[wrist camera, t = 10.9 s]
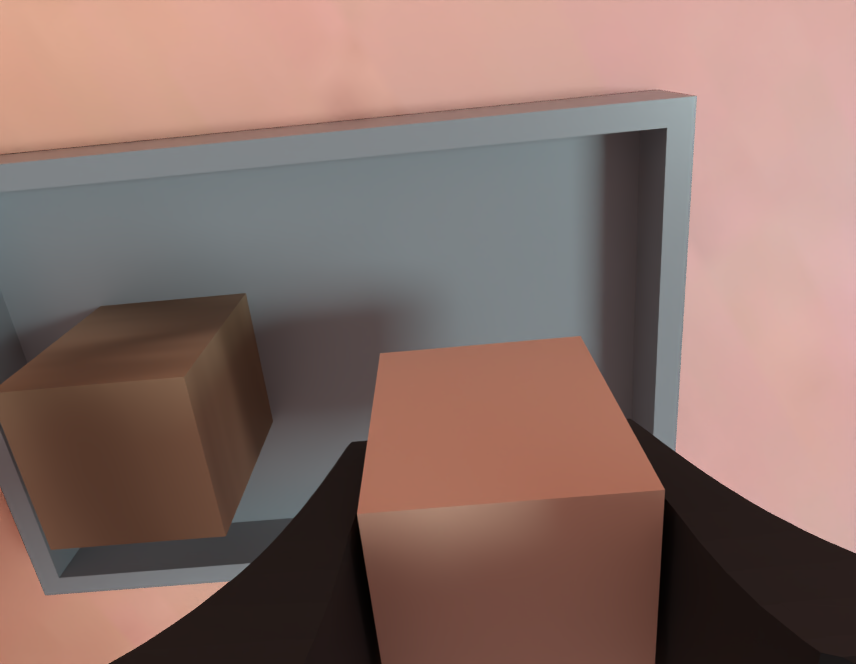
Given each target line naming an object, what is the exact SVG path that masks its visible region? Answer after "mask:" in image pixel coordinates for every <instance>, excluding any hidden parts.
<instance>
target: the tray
mask: <svg viewBox="0 0 856 664" xmlns="http://www.w3.org/2000/svg"><path fill="white" fill-rule="evenodd" d="M696 101H697V96H694V95H688V94H682V93H676V92H670V91H663V90H651V91H641V92H631V93H621V94H611V95H601V96H590V97H580V98H570V99H560V100H550V101H540V102H530V103H519V104H509V105H499V106H489V107H479V108H469V109H459V110H448V111H438V112H428V113H418V114H408V115H398V116H388V117H377V118H367V119H357V120H347V121H337V122H327V123H316V124H306V125H296V126H286V127H276V128H266V129H256V130H245V131H235V132H225V133H215V134H205V135H195V136H185V137H174V138H164V139H154V140H144V141H134V142H124V143H114V144H103V145H93V146H83V147H73V148H63V149H53V150H42V151H32V152H22V153H12V154H2V155H0V384H2V383H3V382H4V381H5V380H7V379H8V378H9V377H11V376H12V375H13V374H14V373H16V372H17V371H18V370H20V369H21V368H22V367H23V366H25V365H26V364H27V363H28V362H30V361H31V360H32V359H34V358H35V357H36V356H37V355H39V354H40V353H41V352H42V351H44V350H45V349H46V348H48V347H49V346H50V345H51V344H53V343H54V342H55V341H57V340H58V339H59V338H60V337H62V336H63V335H64V334H65V333H67V332H68V331H69V330H71V329H72V328H73V327H74V326H76V325H77V324H78V323H80V322H81V321H82V320H83V319H85V318H86V317H87V316H88V315H90V314H91V313H92V312H94V311H95V310H96V309H97V308H99V307H100V306H107V305H118V304H129V303H140V302H152V301H163V300H174V299H185V298H196V297H208V296H219V295H230V294H241V293H246V296H247V300H248V305H249V310H250V315H251V319H252V324H253V329H254V334H255V338H256V343H257V348H258V353H259V357H260V362H261V367H262V372H263V376H264V381H265V386H266V390H267V395H268V400H269V405H270V409H271V414H272V419H273V423H272V425H271V428H270V430H269V433H268V435H267V437H266V440H265V442H264V445H263V447H262V450H261V452H260V454H259V457H258V459H257V462H256V464H255V467H254V469H253V471H252V474H251V476H250V479H249V481H248V484H247V486H246V489H245V491H244V493H243V496H242V498H241V501H240V503H239V506H238V508H237V510H236V513H235V515H234V518H233V520H232V523H231V525H230V527H229V530H228V532H227V535H226V536H224V537H211V538H198V539H185V540H172V541H159V542H146V543H133V544H121V545H108V546H95V547H82V548H69V549H56V550H51V549H50V547H49V544H48V542H47V539H46V536H45V534H44V531H43V529H42V526H41V524H40V521H39V519H38V516H37V514H36V511H35V509H34V506H33V504H32V501H31V499H30V496H29V493H28V491H27V488H26V486H25V483H24V481H23V478H22V476H21V473H20V471H19V468H18V466H17V463H16V461H15V458H14V455H13V453H12V450H11V448H10V445H9V443H8V440H7V438H6V435H5V433H4V430H3V428H2V425H1V423H0V487H1V490H2V492H3V494H4V497H5V499H6V502H7V504H8V506H9V509H10V511H11V514H12V516H13V518H14V521H15V523H16V526H17V528H18V531H19V533H20V535H21V538H22V540H23V543H24V545H25V547H26V550H27V552H28V555H29V557H30V559H31V562H32V564H33V567H34V569H35V572H36V574H37V576H38V579H39V581H40V584H41V586H42V588H43V591H44V593H45V595H56V594H69V593H82V592H95V591H108V590H122V589H135V588H148V587H161V586H174V585H187V584H200V583H213V582H226V581H231V580H232V579H233V578H235V577H236V576H237V575H238V574H239V573H240V572H242V571H243V570H244V569H245V568H246V567H247V566H248V565H249V564H250V563H251V562H253V561H254V560H255V559H256V558H257V557H258V556H259V555H260V554H261V553H262V552H263V551H264V550H265V549H266V548H267V547H268V546H269V545H270V544H271V543H272V542H273V541H274V540H275V539H276V538H277V536H278V535H279V534H280V533H281V532H282V531H283V530H284V528H285V527H286V526H287V525H288V524H289V523H290V522H291V520H292V519H293V518H294V517H295V516H296V515H297V514H298V512H299V511H300V510H301V509H302V508H303V506H304V505H305V504H306V502H307V501H308V500H309V499H310V497H311V496H312V495H313V493H314V492H315V491H316V490H317V488H318V487H319V486H320V484H321V483H322V482H323V480H324V479H325V477H326V476H327V475H328V473H329V472H330V471H331V469H332V468H333V466H334V465H335V463H336V462H337V460H338V459H339V458H340V456H341V455H342V453H343V452H344V450H345V449H346V447H347V446H348V445H349V444H350V443H351V442H355V441H367V440H368V434H369V427H370V420H371V413H372V406H373V399H374V392H375V385H376V378H377V371H378V364H379V357H380V353H389V352H401V351H412V350H424V349H436V348H447V347H459V346H470V345H482V344H494V343H505V342H517V341H528V340H540V339H552V338H563V337H575V336H581V338H582V340H583V341H584V343H585V345H586V347H587V349H588V351H589V352H590V354H591V356H592V358H593V360H594V361H595V363H596V365H597V367H598V369H599V371H600V372H601V374H602V376H603V378H604V380H605V381H606V383H607V385H608V387H609V389H610V391H611V392H612V394H613V396H614V398H615V400H616V402H617V403H618V405H619V407H620V409H621V411H622V412H623V414H624V416H625V418H626V419H632V420H633V421H635V422H636V423H638V424H639V425H640V426H642V427H643V428H644V429H646V430H647V431H648V432H650V433H651V434H652V435H654V436H655V437H656V438H658V439H659V440H660V441H662V442H663V443H664V444H666V445H667V446H668V447H670V448H671V449H672V450H674V451H675V448H676V431H677V415H678V398H679V382H680V365H681V349H682V332H683V316H684V299H685V282H686V266H687V249H688V233H689V216H690V200H691V183H692V167H693V150H694V134H695V117H696Z"/></svg>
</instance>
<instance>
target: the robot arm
mask: <svg viewBox="0 0 856 664" xmlns="http://www.w3.org/2000/svg"><path fill="white" fill-rule="evenodd" d="M626 420H627V422H628V423H629V425H630V427H631V429H632V431H633V432H634V434H635V436H636V438H637V440H638V442H639V443H640V445H641V447H642V449H643V451H644V453H645V454H646V456H647V458H648V460H649V462H650V463H651V465H652V467H653V469H654V471H655V473H656V474H657V476H658V478H659V480H660V482H661V483H662V485H663V487H664V489H665V498H664V515H663V532H662V550H661V567H660V584H659V601H658V619H657V636H656V653H655V664H856V553H853V552H851V551H849V550H846V549H844V548H842V547H839V546H837V545H835V544H832V543H830V542H828V541H825V540H823V539H821V538H819V537H817V536H815V535H813V534H810V533H808V532H806V531H804V530H802V529H800V528H798V527H796V526H794V525H792V524H791V523H789V522H787V521H785V520H783V519H781V518H779V517H777V516H775V515H773V514H771V513H769V512H767V511H766V510H764V509H762V508H760V507H759V506H757V505H755V504H753V503H752V502H750V501H748V500H747V499H745V498H743V497H742V496H740V495H739V494H737V493H735V492H734V491H732V490H731V489H729V488H727V487H726V486H724V485H722V484H721V483H719V482H718V481H716V480H715V479H713V478H712V477H710V476H709V475H707V474H706V473H704V472H703V471H702V470H700V469H699V468H697V467H696V466H694V465H693V464H692V463H690V462H689V461H687V460H686V459H685V458H683V457H682V456H680V455H679V454H678V453H676V452H675V451H674V450H672V449H671V448H670V447H668V446H667V445H666V444H664V443H663V442H662V441H660V440H659V439H658V438H656V437H655V436H654V435H652V434H651V433H650V432H648V431H647V430H646V429H644V428H643V427H642V426H640V425H639V424H638V423H636V422H635V421H633V420H632V419H626ZM367 441H368V440H367ZM367 441H355V442H351V443H350V444H349V445H348V446H347V447H346V449H345V450H344V452H343V453H342V455H341V456H340V458H339V459H338V460H337V462H336V463H335V465H334V466H333V468H332V469H331V471H330V472H329V473H328V475H327V476H326V477H325V479H324V480H323V482H322V483H321V484H320V486H319V487H318V488H317V490H316V491H315V492H314V493H313V495H312V496H311V497H310V499H309V500H308V501H307V502H306V504H305V505H304V506H303V508H302V509H301V510H300V511H299V512H298V514H297V515H296V516H295V517H294V518H293V519H292V520H291V522H290V523H289V524H288V525H287V526H286V527H285V528H284V530H283V531H282V532H281V533H280V534H279V535H278V536H277V538H276V539H275V540H274V541H273V542H272V543H271V544H270V545H269V546H268V547H267V548H266V549H265V550H264V551H263V552H262V553H261V554H260V555H259V556H258V557H257V558H256V559H255V560H254V561H253V562H251V563H250V564H249V565H248V566H247V567H246V568H245V569H244V570H243V571H242V572H240V573H239V574H238V575H237V576H236V577H235V578H233V579H232V580H231V581H230V582H228V583H227V584H226V585H225V586H223V587H222V588H221V589H220V590H218V591H217V592H216V593H215V594H213V595H212V596H211V597H210V598H208V599H207V600H206V601H205V602H203V603H202V604H201V605H199V606H198V607H197V608H195V609H194V610H193V611H191V612H190V613H189V614H187V615H186V616H184V617H183V618H181V619H180V620H179V621H177V622H176V623H174V624H173V625H171V626H170V627H168V628H167V629H165V630H164V631H162V632H161V633H159V634H158V635H156V636H154V637H153V638H151V639H150V640H148V641H147V642H145V643H144V644H142V645H140V646H139V647H137V648H135V649H134V650H132V651H130V652H129V653H127V654H125V655H123V656H122V657H120V658H118V659H116V660H114V661H113V662H111V663H109V664H382V663H381V657H380V651H379V645H378V639H377V633H376V626H375V620H374V614H373V608H372V602H371V596H370V590H369V584H368V578H367V572H366V566H365V560H364V554H363V547H362V541H361V535H360V529H359V523H358V517H357V511H358V504H359V497H360V490H361V483H362V476H363V469H364V462H365V455H366V448H367Z"/></svg>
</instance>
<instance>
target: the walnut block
mask: <svg viewBox="0 0 856 664" xmlns="http://www.w3.org/2000/svg"><path fill="white" fill-rule="evenodd" d="M0 423H1V425H2V428H3V430H4V433H5V435H6V438H7V440H8V443H9V445H10V448H11V450H12V453H13V455H14V458H15V461H16V463H17V466H18V468H19V471H20V473H21V476H22V478H23V481H24V483H25V486H26V488H27V491H28V493H29V496H30V499H31V501H32V504H33V506H34V509H35V511H36V514H37V516H38V519H39V521H40V524H41V526H42V529H43V531H44V534H45V536H46V539H47V542H48V544H49V547H50V549H51V550H56V549H69V548H82V547H95V546H108V545H121V544H133V543H146V542H159V541H172V540H185V539H198V538H211V537H224V536H226V535H227V532H228V530H229V527H230V525H231V523H232V520H233V518H234V515H235V513H236V510H237V508H238V506H239V503H240V501H241V498H242V496H243V493H244V491H245V489H246V486H247V484H248V481H249V479H250V476H251V474H252V471H253V469H254V467H255V464H256V462H257V459H258V457H259V454H260V452H261V450H262V447H263V445H264V442H265V440H266V437H267V435H268V433H269V430H270V428H271V425H272V423H273V419H272V414H271V409H270V405H269V400H268V395H267V390H266V386H265V381H264V376H263V372H262V367H261V362H260V357H259V353H258V348H257V343H256V338H255V334H254V329H253V324H252V319H251V315H250V310H249V305H248V300H247V296H246V293H241V294H230V295H219V296H208V297H196V298H185V299H174V300H163V301H152V302H140V303H129V304H118V305H107V306H100V307H99V308H97V309H96V310H95V311H94V312H92V313H91V314H90V315H88V316H87V317H86V318H85V319H83V320H82V321H81V322H80V323H78V324H77V325H76V326H74V327H73V328H72V329H71V330H69V331H68V332H67V333H65V334H64V335H63V336H62V337H60V338H59V339H58V340H57V341H55V342H54V343H53V344H51V345H50V346H49V347H48V348H46V349H45V350H44V351H42V352H41V353H40V354H39V355H37V356H36V357H35V358H34V359H32V360H31V361H30V362H28V363H27V364H26V365H25V366H23V367H22V368H21V369H20V370H18V371H17V372H16V373H14V374H13V375H12V376H11V377H9V378H8V379H7V380H5V381H4V382H3V383H2V384H0Z"/></svg>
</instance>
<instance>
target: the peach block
mask: <svg viewBox="0 0 856 664" xmlns="http://www.w3.org/2000/svg"><path fill="white" fill-rule="evenodd" d="M664 498H665V489H664V487H663V485H662V483H661V482H660V480H659V478H658V476H657V474H656V473H655V471H654V469H653V467H652V465H651V463H650V462H649V460H648V458H647V456H646V454H645V453H644V451H643V449H642V447H641V445H640V443H639V442H638V440H637V438H636V436H635V434H634V432H633V431H632V429H631V427H630V425H629V423H628V422H627V420H626V418H625V416H624V414H623V412H622V411H621V409H620V407H619V405H618V403H617V402H616V400H615V398H614V396H613V394H612V392H611V391H610V389H609V387H608V385H607V383H606V381H605V380H604V378H603V376H602V374H601V372H600V371H599V369H598V367H597V365H596V363H595V361H594V360H593V358H592V356H591V354H590V352H589V351H588V349H587V347H586V345H585V343H584V341H583V340H582V338H581V336H575V337H563V338H552V339H540V340H528V341H517V342H505V343H494V344H482V345H470V346H459V347H447V348H436V349H424V350H412V351H401V352H389V353H380V357H379V364H378V371H377V378H376V385H375V392H374V399H373V406H372V413H371V420H370V427H369V434H368V441H367V448H366V455H365V462H364V469H363V476H362V483H361V490H360V497H359V504H358V511H357V517H358V523H359V529H360V535H361V541H362V547H363V554H364V560H365V566H366V572H367V578H368V584H369V590H370V596H371V602H372V608H373V614H374V620H375V626H376V633H377V639H378V645H379V651H380V657H381V663H382V664H655V653H656V636H657V619H658V601H659V584H660V567H661V550H662V532H663V515H664Z"/></svg>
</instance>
